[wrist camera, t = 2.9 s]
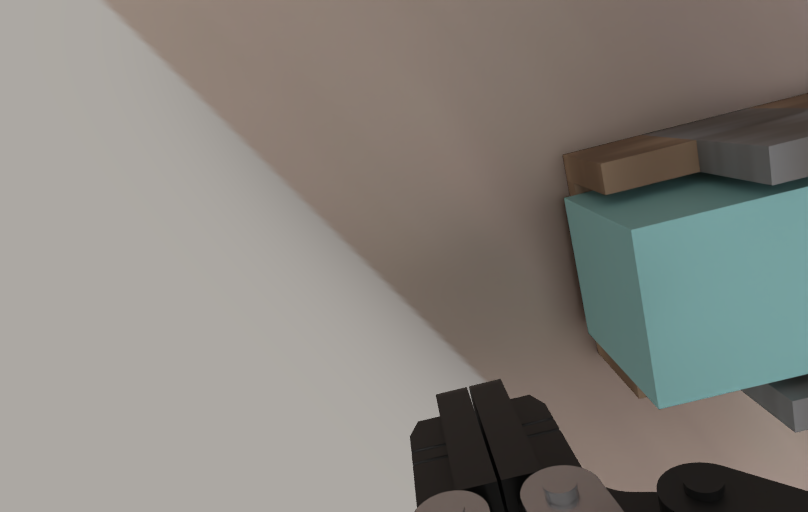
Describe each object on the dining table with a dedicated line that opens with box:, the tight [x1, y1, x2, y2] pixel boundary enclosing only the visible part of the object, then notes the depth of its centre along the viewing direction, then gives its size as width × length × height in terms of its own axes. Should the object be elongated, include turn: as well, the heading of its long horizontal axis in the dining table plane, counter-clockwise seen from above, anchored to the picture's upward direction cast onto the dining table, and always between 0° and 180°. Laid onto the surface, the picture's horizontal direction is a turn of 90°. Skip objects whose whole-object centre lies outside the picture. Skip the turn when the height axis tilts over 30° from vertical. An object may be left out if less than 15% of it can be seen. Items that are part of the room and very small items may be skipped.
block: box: [564, 172, 808, 409], centre depth 19 cm, size 7×5×6 cm
